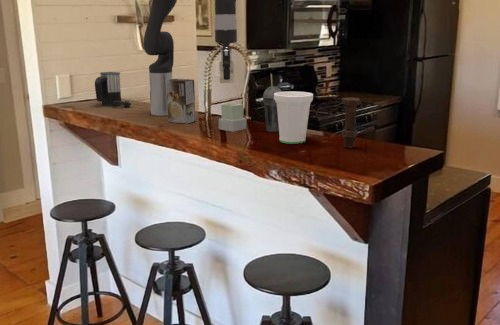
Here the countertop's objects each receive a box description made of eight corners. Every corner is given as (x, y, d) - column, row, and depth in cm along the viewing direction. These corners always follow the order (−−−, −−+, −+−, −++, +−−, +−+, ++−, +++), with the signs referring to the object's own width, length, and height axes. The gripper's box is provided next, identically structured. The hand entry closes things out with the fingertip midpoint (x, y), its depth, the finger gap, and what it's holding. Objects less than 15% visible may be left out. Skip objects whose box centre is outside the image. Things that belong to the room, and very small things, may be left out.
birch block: (220, 81, 188) (219, 61, 186) (233, 81, 188) (233, 61, 186) (219, 82, 183) (219, 62, 181) (233, 82, 183) (233, 62, 182)
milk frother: (106, 103, 249) (104, 71, 245) (138, 104, 246) (137, 71, 243) (93, 108, 235) (91, 74, 231) (127, 108, 233) (125, 74, 229)
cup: (319, 141, 171) (321, 93, 167) (294, 147, 163) (295, 97, 159) (290, 135, 180) (291, 90, 176) (265, 141, 171) (265, 93, 167)
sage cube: (221, 118, 189) (221, 104, 188) (232, 116, 193) (232, 102, 192) (232, 120, 186) (232, 106, 184) (243, 118, 189) (243, 104, 188)
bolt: (353, 150, 159) (355, 100, 155) (337, 148, 162) (339, 99, 158) (360, 146, 164) (362, 98, 160) (344, 144, 167) (347, 96, 163)
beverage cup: (287, 130, 188) (288, 73, 183) (273, 133, 183) (274, 74, 178) (271, 127, 193) (272, 72, 188) (258, 130, 188) (258, 73, 182)
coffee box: (196, 121, 204) (195, 79, 200) (187, 124, 199) (185, 81, 195) (176, 119, 208) (175, 78, 204) (167, 121, 203) (165, 79, 199)
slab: (218, 129, 190) (218, 118, 189) (232, 126, 195) (232, 116, 194) (232, 132, 185) (232, 121, 184) (246, 129, 190) (246, 118, 189)
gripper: (215, 28, 188) (216, 77, 192) (214, 28, 174) (215, 81, 178) (236, 28, 188) (237, 76, 192) (237, 28, 174) (237, 80, 178)
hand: (226, 78), depth 185 cm, fingers closed on birch block, 4 cm apart
